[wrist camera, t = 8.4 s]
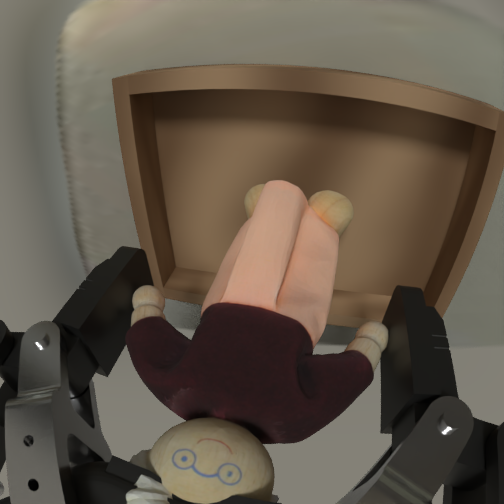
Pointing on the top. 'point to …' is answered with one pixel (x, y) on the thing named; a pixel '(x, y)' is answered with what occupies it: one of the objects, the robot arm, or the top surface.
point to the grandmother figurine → (251, 353)
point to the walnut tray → (309, 173)
